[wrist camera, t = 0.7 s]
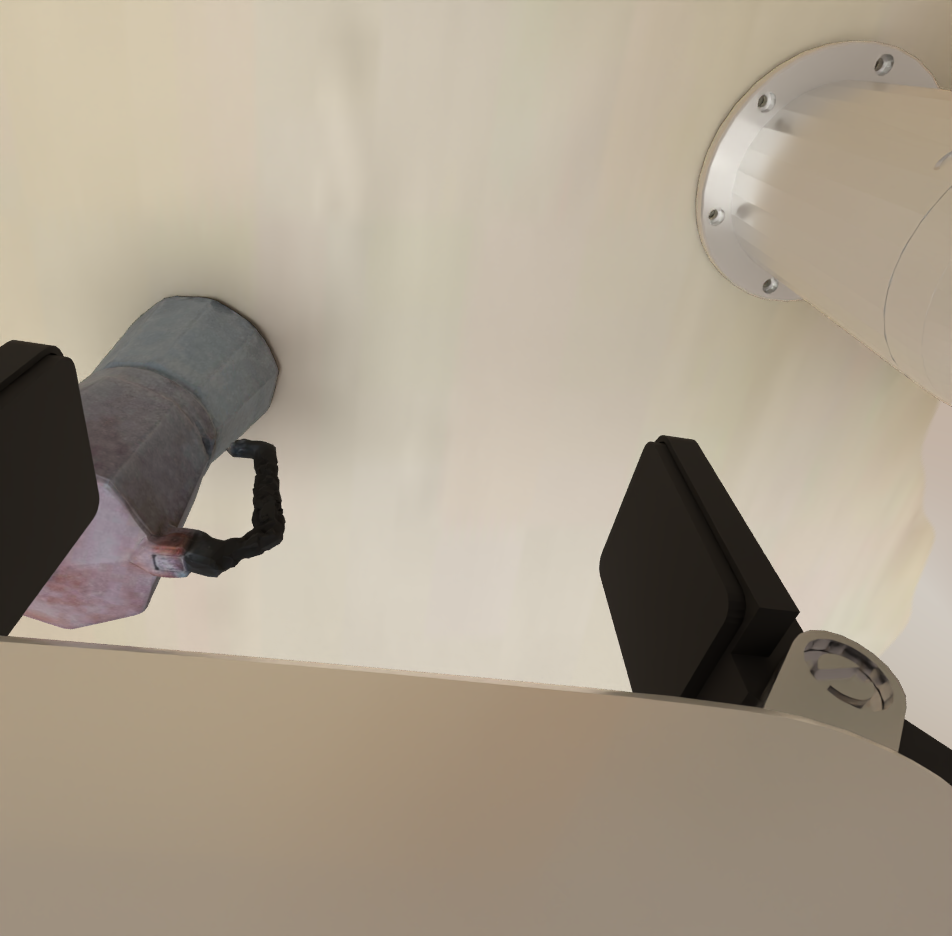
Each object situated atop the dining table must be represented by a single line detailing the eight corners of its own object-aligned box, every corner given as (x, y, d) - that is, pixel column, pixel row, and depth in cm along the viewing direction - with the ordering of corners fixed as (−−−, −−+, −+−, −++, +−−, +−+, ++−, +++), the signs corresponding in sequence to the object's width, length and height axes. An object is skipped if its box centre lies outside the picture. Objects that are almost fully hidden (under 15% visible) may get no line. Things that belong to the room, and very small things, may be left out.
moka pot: (56, 282, 36) (-281, 492, 19) (328, 285, 36) (226, 492, 20) (107, 426, 41) (-121, 686, 25) (344, 427, 42) (274, 681, 25)
